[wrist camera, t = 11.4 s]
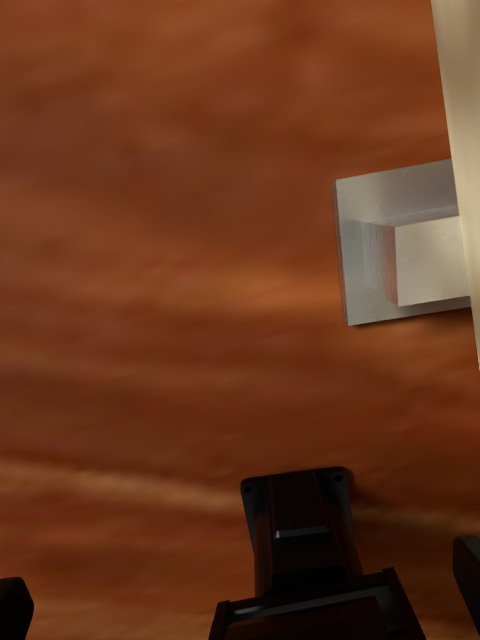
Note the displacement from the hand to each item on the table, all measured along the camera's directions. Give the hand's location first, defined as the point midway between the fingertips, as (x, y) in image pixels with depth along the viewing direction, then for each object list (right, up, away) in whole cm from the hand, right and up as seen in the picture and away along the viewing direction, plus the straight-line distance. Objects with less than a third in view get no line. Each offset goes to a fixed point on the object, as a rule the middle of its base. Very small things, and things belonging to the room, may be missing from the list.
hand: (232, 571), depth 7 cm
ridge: (+11, +9, +10) cm, 18 cm away
